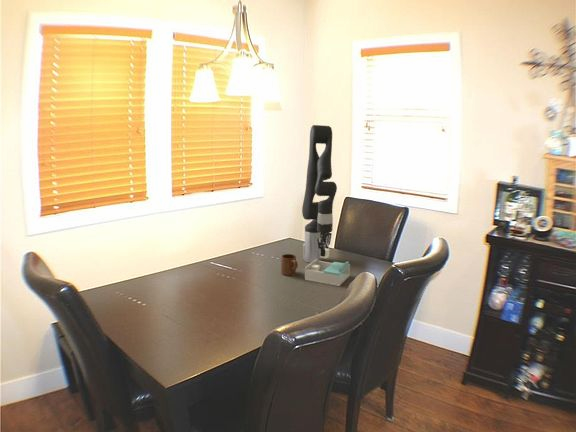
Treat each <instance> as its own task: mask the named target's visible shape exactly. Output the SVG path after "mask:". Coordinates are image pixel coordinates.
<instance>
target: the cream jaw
mask: <svg viewBox="0 0 576 432" xmlns="http://www.w3.org/2000/svg"><path fill="white" fill-rule="evenodd" d="M320 253H321V250H320ZM320 257H321V258H322V259H327V258H328V259H329V257H330V248H328V249H327V248H325V256H324V257H323V256H321V255H320Z"/></svg>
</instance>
